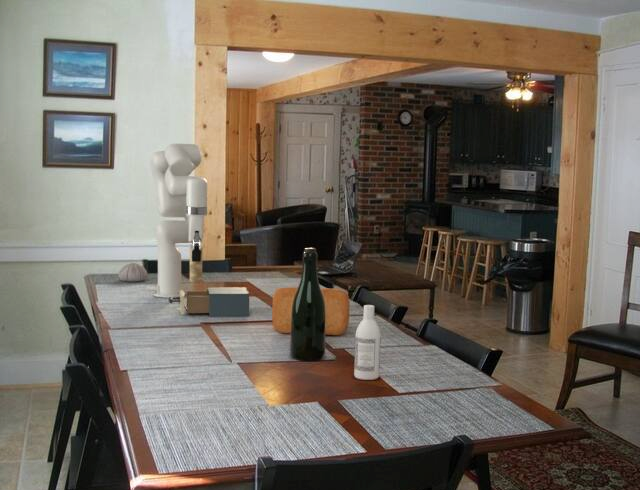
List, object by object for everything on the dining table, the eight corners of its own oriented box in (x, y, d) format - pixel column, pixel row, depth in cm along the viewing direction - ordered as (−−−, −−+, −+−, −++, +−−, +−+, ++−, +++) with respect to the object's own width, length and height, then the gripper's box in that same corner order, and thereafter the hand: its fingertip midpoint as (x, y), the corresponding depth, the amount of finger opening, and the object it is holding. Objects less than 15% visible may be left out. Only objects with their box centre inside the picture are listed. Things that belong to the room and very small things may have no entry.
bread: (348, 290, 266) (354, 286, 284) (271, 287, 269) (281, 283, 286) (347, 336, 267) (353, 330, 285) (270, 333, 270) (280, 326, 287)
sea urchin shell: (143, 283, 366) (143, 265, 365) (113, 282, 366) (113, 264, 365) (151, 278, 379) (151, 262, 378) (122, 277, 379) (122, 261, 378)
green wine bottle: (310, 363, 233) (313, 250, 228) (282, 357, 239) (285, 247, 234) (331, 356, 242) (335, 248, 237) (304, 351, 247) (306, 245, 243)
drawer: (169, 314, 292) (169, 296, 291) (168, 307, 305) (168, 290, 304) (218, 313, 296) (218, 295, 296) (215, 307, 309) (216, 289, 308)
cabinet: (209, 316, 295) (209, 293, 294) (207, 309, 309) (207, 287, 308) (249, 316, 299) (249, 293, 298) (245, 308, 313) (245, 287, 312)
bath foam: (365, 372, 225) (367, 302, 222) (384, 377, 221) (387, 306, 218) (348, 377, 220) (351, 305, 217) (368, 382, 215) (370, 309, 213)
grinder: (189, 282, 297) (190, 247, 295) (189, 280, 302) (189, 246, 300) (202, 282, 298) (202, 247, 296) (201, 280, 303) (202, 246, 301)
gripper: (185, 209, 303) (185, 256, 306) (187, 213, 287) (186, 263, 290) (205, 209, 305) (204, 257, 308) (208, 213, 289) (207, 263, 292)
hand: (196, 259), depth 299 cm, fingers closed on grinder, 4 cm apart
